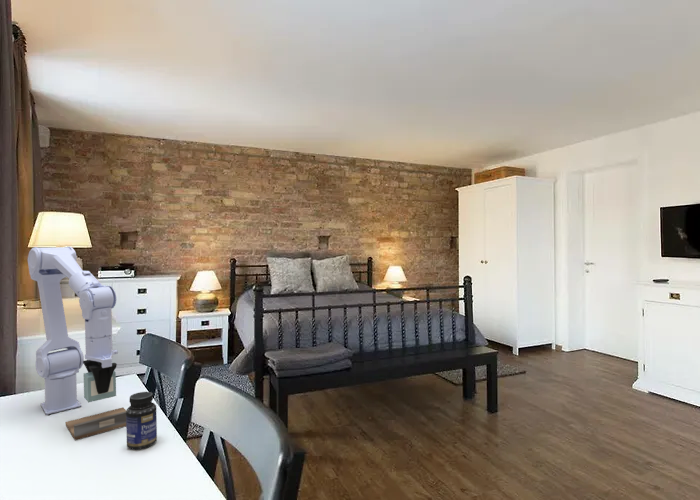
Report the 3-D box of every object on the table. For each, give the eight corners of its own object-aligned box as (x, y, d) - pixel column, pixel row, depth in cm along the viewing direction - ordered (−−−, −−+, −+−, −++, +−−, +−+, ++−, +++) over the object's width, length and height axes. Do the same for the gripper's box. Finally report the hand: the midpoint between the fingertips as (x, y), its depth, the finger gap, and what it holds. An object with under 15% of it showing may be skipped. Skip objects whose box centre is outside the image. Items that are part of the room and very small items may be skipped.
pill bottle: (144, 452, 91) (143, 401, 91) (120, 449, 92) (119, 399, 92) (162, 438, 97) (161, 391, 97) (139, 436, 98) (138, 389, 98)
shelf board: (65, 425, 104) (65, 412, 104) (123, 410, 113) (122, 398, 113) (75, 440, 96) (74, 426, 96) (136, 423, 105) (136, 410, 105)
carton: (84, 397, 104) (83, 373, 104) (111, 391, 108) (110, 368, 108) (88, 402, 101) (87, 377, 101) (116, 396, 105) (115, 372, 105)
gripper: (125, 337, 102) (126, 393, 102) (108, 328, 112) (110, 379, 113) (91, 342, 97) (93, 401, 97) (77, 333, 108) (79, 385, 108)
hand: (100, 390), depth 105 cm, fingers closed on carton, 5 cm apart
